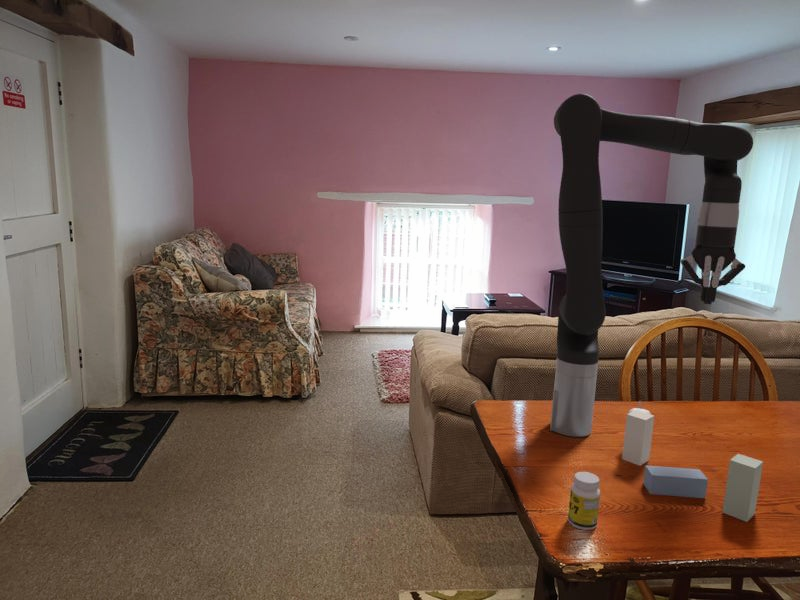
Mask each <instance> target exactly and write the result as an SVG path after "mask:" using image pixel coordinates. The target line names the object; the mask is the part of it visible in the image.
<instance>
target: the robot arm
mask: <svg viewBox="0 0 800 600" xmlns="http://www.w3.org/2000/svg"><path fill="white" fill-rule="evenodd" d="M553 125H554V129H555V132H556V133H557V134H558V136H559V137H560V143H561V144H560V145H561V151H562V152H561V153H562V171H561V172H562V173H561V178H560V179H561V180H560V187H559V193H558V194H559V195H558V207H557V208H558V210H557V211H558V232H559V240H560V246H561V251H562V256H563V260H564V264H565V270H566V292H565V295H564V296H563V297H562V299H561V300H560V304H559V308H558V316H557V331H556V347H557V348H556V365H555V376H554V385H553V386H554V387H553V393H552V402H551V403H552V404H551V416H550V427H549V431H550V432H555V433H557V434H560V435H563V436H567V437H575V438H580V437H582V438H583V437H588V436H589V435H591V433H592V428H593V416H594V407H595V406H594V405H595V398H596V397H595V395H596V387H597V378H598V377H597V376H598V367H599V359H600V358H599V357H600V348H599V339H598V337H599V330H600V328H601V327H602V326H603V324H604V322H605V319H606V316H607V311H606V310H607V308H606V304H605V303H606V302H605V301H606V300H605V296H604V288H603V279H602V258H603V255H602V254H603V228H604V227H603V225H604V224H603V223H604V222H603V213H604V212H603V198H602V197H603V196H602V195H603V193H602V183H601V174H600V162H599V161H600V158H599V157H600V143H601V142H609V143H615V144H616V143H617V144H622V145H623V144H624V145H629V146H634V147H639V148H642V149H644V148H645V149H649V150H653V151H658V152H664V153H669V154H675V155H682V156H701V157H703V171H704V186H703V194H702V201H701V206H700V208H699V215H698V218H697V229H696V236H695V244H694V245H695V246H694V248H693V250H692V251H691V254H690V255H689V256H687V257H686V258H682V259H680V261H679V262H680V265H681V266H682V267H683V269H684V270H685V271H686V273H687V275H688V276H689V277H690V278H691V280H692V281H693V282H694V283H695V284H697V285H700V293H699V301H701V302H702V304H703V305H712V303H714V302H715V301H716V297H717V289H718V288H719V287H722V286H723V287H724V286H727V285H728V284H729V283H730V282H732V281H733V280H734V279H735V277H737V276H738V275H739V274H740V273H741V272H742V271H743V270H745V268H746V264H744V263H742V262H741V261H739V259H737V255H736V252H735V248H736V247H735V246H736V238H737V231H738V226H739V218H740V200H741V193H742V179H741V177H740V176H739V175H738V162H739V161H740V160H743V159H745V158H746V157H747V156H748V155H749V154H750V153H751V151H752V150H753V146H754V138H753V136H752V134H751V133H750V132H749V131H748V130H747V129H745V128H744V127H742V126H737V125H732V124H731V125H730V124H722V123H719V124H718V123H708V122H707V123H703V122H697V121H694V120H690V119H689V120H688V119H684V118H677V117H671V116H661V115H649V114H633V113H632V114H631V113H624V112H616V111H611V110H607V109H604V108H601V106H600V104H599V102H598V101H597V100H596V99H595V98H594V97H593V96H591V95H589V94H587V93H576V94H573V95H571V96H569V97H568V98H566V99H565V100H564V101H563V102H562V103H561V104H560V106H558V108H557V109H556V112H555V114H554V117H553ZM694 262H695V264H696V266H698V268H699V269H700V271H701V272H700V274H701V278H700V277H699V275H698V274H697V273H696V271H695V269H693V267H694ZM728 266H730V269H729V270H728V271H727V272H726V273H725V274H724V275H723V276H722V277H721V275H722V272H723V271H725V270H726V269H727V268H728Z"/></svg>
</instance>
